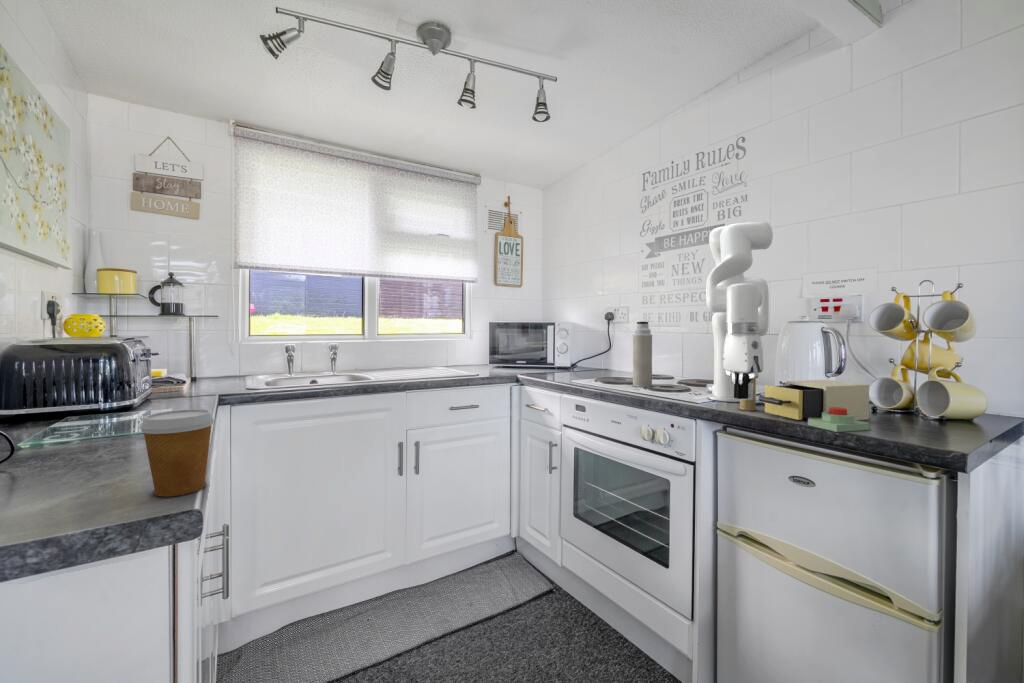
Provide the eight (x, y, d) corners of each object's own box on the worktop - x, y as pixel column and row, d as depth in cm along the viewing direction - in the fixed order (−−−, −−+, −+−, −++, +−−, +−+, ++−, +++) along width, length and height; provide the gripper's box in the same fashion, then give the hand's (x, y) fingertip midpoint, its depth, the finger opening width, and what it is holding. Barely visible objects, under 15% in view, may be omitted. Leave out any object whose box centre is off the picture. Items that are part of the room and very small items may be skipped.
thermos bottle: (648, 384, 197) (649, 321, 197) (654, 387, 190) (654, 321, 189) (630, 384, 198) (631, 321, 197) (635, 387, 190) (635, 321, 189)
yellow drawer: (785, 420, 116) (785, 391, 116) (752, 412, 127) (752, 385, 127) (839, 417, 120) (840, 388, 120) (802, 410, 131) (803, 383, 131)
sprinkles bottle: (758, 410, 136) (759, 366, 136) (750, 411, 134) (751, 367, 133) (744, 407, 140) (744, 365, 139) (736, 409, 137) (736, 366, 137)
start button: (825, 414, 114) (825, 407, 114) (836, 413, 114) (837, 406, 114) (839, 417, 110) (839, 409, 110) (850, 416, 111) (850, 409, 111)
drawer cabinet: (825, 422, 118) (826, 386, 118) (786, 413, 131) (786, 381, 130) (868, 419, 122) (869, 384, 122) (826, 411, 134) (826, 379, 134)
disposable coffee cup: (229, 478, 75) (227, 408, 75) (190, 500, 66) (188, 419, 65) (171, 479, 75) (169, 408, 74) (124, 501, 65) (121, 420, 65)
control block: (807, 425, 115) (807, 411, 115) (838, 423, 117) (838, 409, 117) (836, 432, 107) (837, 417, 107) (869, 429, 110) (869, 415, 109)
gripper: (776, 330, 113) (775, 402, 113) (734, 330, 127) (733, 394, 128) (750, 330, 111) (750, 403, 111) (711, 330, 125) (710, 394, 126)
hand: (741, 398), depth 119 cm, fingers closed
